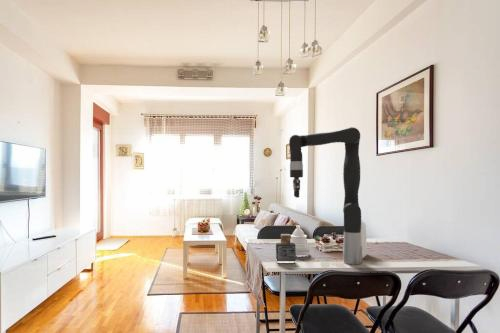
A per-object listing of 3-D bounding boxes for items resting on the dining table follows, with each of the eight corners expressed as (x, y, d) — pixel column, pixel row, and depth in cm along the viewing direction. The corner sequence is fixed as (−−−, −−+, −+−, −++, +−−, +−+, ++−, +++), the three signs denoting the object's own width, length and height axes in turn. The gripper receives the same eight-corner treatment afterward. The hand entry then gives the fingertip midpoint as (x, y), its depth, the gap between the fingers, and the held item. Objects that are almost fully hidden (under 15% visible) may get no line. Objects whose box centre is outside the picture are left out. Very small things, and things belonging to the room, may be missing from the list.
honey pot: (308, 257, 212) (308, 227, 212) (287, 256, 214) (286, 226, 215) (309, 252, 224) (309, 224, 225) (289, 252, 227) (288, 223, 227)
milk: (348, 252, 225) (347, 211, 226) (367, 254, 219) (366, 211, 220) (342, 256, 215) (342, 212, 215) (362, 258, 209) (361, 213, 209)
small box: (294, 260, 205) (294, 242, 205) (296, 263, 199) (296, 244, 199) (275, 260, 205) (275, 242, 205) (277, 263, 198) (277, 244, 198)
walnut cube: (289, 242, 204) (289, 233, 204) (290, 244, 199) (290, 235, 199) (280, 242, 204) (280, 233, 204) (281, 244, 199) (281, 235, 200)
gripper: (304, 169, 202) (304, 197, 202) (301, 169, 216) (301, 196, 216) (290, 169, 202) (291, 197, 202) (289, 169, 217) (289, 196, 216)
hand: (296, 196), depth 209 cm, fingers open, 8 cm apart
